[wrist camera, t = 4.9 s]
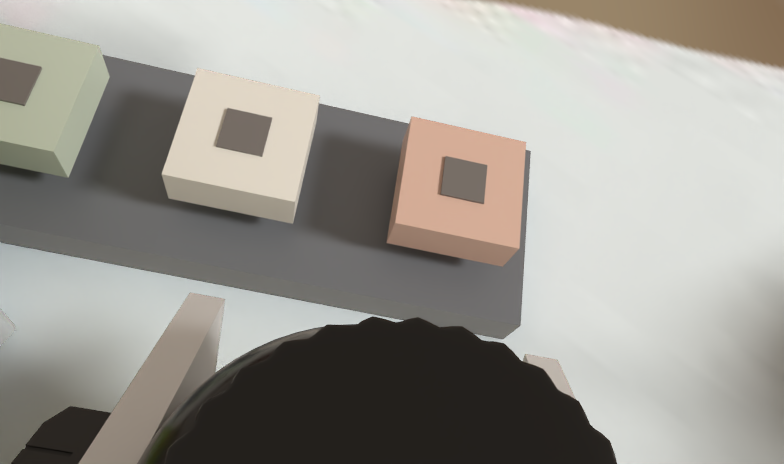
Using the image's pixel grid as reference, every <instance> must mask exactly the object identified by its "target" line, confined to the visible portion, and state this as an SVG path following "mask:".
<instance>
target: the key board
mask: <svg viewBox="0 0 784 464" xmlns="http://www.w3.org/2000/svg"><path fill="white" fill-rule="evenodd" d="M102 56H103V58H104V61H105V64H106V67H107V70H108V73H109V76H110V78H109V80H108V82H107V85H106V87H105V90H104V92H103V95H102V97H101V100H100V102H99V104H98V107H97V109H96V112H95V114H94V117H93V119H92V122H91V124H90V126H89V129H88V131H87V134H86V136H85V139H84V141H83V143H82V146H81V148H80V151H79V153H78V156H77V158H76V161H75V163H74V165H73V168H72V170H71V173H70V175H69V178H67V177H62V176H57V175H52V174H47V173H42V172H37V171H32V170H28V169H23V168H18V167H13V166H8V165H3V164H0V242H2V243H8V244H13V245H18V246H23V247H28V248H34V249H39V250H44V251H49V252H54V253H59V254H65V255H70V256H75V257H80V258H85V259H91V260H96V261H101V262H106V263H111V264H117V265H122V266H127V267H132V268H137V269H142V270H148V271H153V272H158V273H163V274H168V275H174V276H179V277H184V278H189V279H194V280H199V281H205V282H210V283H215V284H220V285H225V286H231V287H236V288H241V289H246V290H251V291H257V292H262V293H267V294H272V295H277V296H282V297H288V298H293V299H298V300H303V301H308V302H314V303H319V304H324V305H329V306H334V307H340V308H345V309H350V310H355V311H360V312H365V313H371V314H376V315H381V316H386V317H391V318H397V319H402V320H407V319H411V318H416V317H419V318H421V319H424V320H426V321H428V322H430V323H432V324H434V325H436V326H438V327H448V326H463V327H464V328H466V329H467V330H469V331H470V332H472V333H474V334H480V335H485V336H490V337H495V338H500V339H504V338H505V337H506V336H508V335H509V334H510V333H512V332H513V331H514V330H516V329H517V328H518V327H519V326H520V323H521V306H522V289H523V272H524V255H525V237H526V220H527V203H528V186H529V169H530V152H531V151H528V150H525V167H524V183H523V199H522V215H521V231H520V247H519V250H518V251H517V252H516V253H515V254H514V255H513V256H512V257H511V258H510V259H509V260H508V261H507V263H506V264H505V265H504V266H503V267H502V266H497V265H492V264H487V263H482V262H477V261H472V260H467V259H462V258H458V257H453V256H448V255H443V254H438V253H433V252H428V251H423V250H418V249H414V248H409V247H404V246H399V245H394V244H389V243H386V242H387V236H388V230H389V223H390V217H391V211H392V205H393V198H394V192H395V186H396V180H397V173H398V167H399V161H400V154H401V148H402V142H403V139H404V136H405V134H406V131H407V128H408V125H409V124H408V123H403V122H399V121H394V120H390V119H386V118H381V117H377V116H372V115H368V114H363V113H359V112H354V111H350V110H345V109H341V108H337V107H332V106H328V105H323V104H319V106H318V113H317V121H316V126H315V130H314V135H313V139H312V143H311V148H310V152H309V156H308V161H307V165H306V169H305V174H304V178H303V182H302V187H301V191H300V195H299V200H298V204H297V208H296V213H295V217H294V221H293V224H291V223H286V222H282V221H277V220H272V219H267V218H262V217H257V216H252V215H247V214H243V213H238V212H233V211H228V210H223V209H218V208H213V207H208V206H203V205H199V204H194V203H189V202H184V201H179V200H174V199H169V198H168V195H167V191H166V188H165V184H164V181H163V177H162V171H163V168H164V165H165V163H166V160H167V157H168V154H169V151H170V148H171V145H172V142H173V139H174V136H175V133H176V130H177V127H178V124H179V121H180V118H181V115H182V112H183V110H184V107H185V104H186V101H187V98H188V95H189V92H190V89H191V86H192V83H193V80H194V77H195V76H194V75H190V74H185V73H181V72H176V71H172V70H167V69H163V68H158V67H154V66H150V65H145V64H141V63H136V62H132V61H127V60H123V59H118V58H114V57H109V56H105V55H102Z"/></svg>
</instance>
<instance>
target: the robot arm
mask: <svg viewBox="0 0 784 464" xmlns="http://www.w3.org/2000/svg"><path fill="white" fill-rule="evenodd" d="M224 304H225V299H222V298H216V297H211V296H205V295H200V294H195V293H189V295H188V296H187V298H186V299H185V301H184V302H183V304H182V305H181V307H180V309H179V310H178V312H177V313H176V315H175V316H174V318H173V319H172V321H171V322H170V324H169V325H168V327H167V328H166V330H165V332H164V333H163V335H162V336H161V338H160V339H159V341H158V342H157V344H156V345H155V347H154V348H153V350H152V351H151V353H150V355H149V356H148V358H147V359H146V361H145V362H144V364H143V365H142V367H141V368H140V370H139V371H138V373H137V375H136V376H135V378H134V379H133V381H132V382H131V384H130V385H129V387H128V388H127V390H126V391H125V393H124V394H123V396H122V398H121V399H120V401H119V402H118V404H117V405H116V407H115V408H114V410H113V411H112V413H108V412H102V411H96V410H90V409H84V408H78V407H72V406H70V407H68V408H67V409H65V410H64V411H62V412H60V413H59V414H57V415H55V416H54V417H52V418H51V419H49V420H47V421H46V422H44V423H43V424H42V425H41V427H40V428H39V429H38V430H37V432H36V433H35V434H34V435H33V437H32V438H31V439H30V440H29V442H28V443H27V444H26V447H25V449H22V451H21V452H20V453H19V454H18V456H17V457H16V458H15V459H14V461H13V462H12V463H11V464H137V463H138V461H139V460H140V458H141V456H142V454H143V453H144V451H145V449H146V448H147V446H148V445H149V443H150V442H151V440H152V439H153V437H154V436H155V435H156V433H157V432H158V430H159V429H160V428H161V426H162V425H163V424H164V422H165V421H166V420H167V419H168V418H169V417H170V415H171V414H172V413H173V412H174V411H175V410H176V408H177V407H178V406H179V405H180V404H181V403H182V402H183V401H184V400H185V399H186V398H187V397H188V396H189V395H190V394H191V393H192V392H193V391H194V390H195V389H196V388H197V387H199V386H200V385H201V384H202V383H204V382H205V381H206V380H207V379H208V378H210V377H211V376H212V375H213V374H214V373H215V371H216V363H217V356H218V348H219V341H220V333H221V326H222V319H223V311H224ZM523 362H526V363H529V364H533V365H535V366H538V367H540V368H543V369H544V370H545V372H546V373H547V374H548V375H549V377H550V378H551V380H552V381H553V383H554V384H555V386H556V388H557V389H558V390H559V391H561V392H563V393H565V394H567V395H570V396H571V397H573V398H574V399H575V397H574V394H573V392H572V390H571V388H570V386H569V383H568V381H567V379H566V377H565V375H564V373H563V370H562V368H561V366H560V364H559V362H558V360H555V359H550V358H545V357H539V356H534V355H528V354H525V356H524V359H523Z"/></svg>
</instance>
